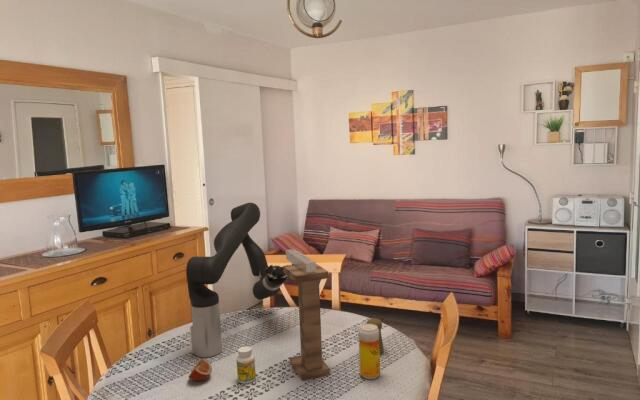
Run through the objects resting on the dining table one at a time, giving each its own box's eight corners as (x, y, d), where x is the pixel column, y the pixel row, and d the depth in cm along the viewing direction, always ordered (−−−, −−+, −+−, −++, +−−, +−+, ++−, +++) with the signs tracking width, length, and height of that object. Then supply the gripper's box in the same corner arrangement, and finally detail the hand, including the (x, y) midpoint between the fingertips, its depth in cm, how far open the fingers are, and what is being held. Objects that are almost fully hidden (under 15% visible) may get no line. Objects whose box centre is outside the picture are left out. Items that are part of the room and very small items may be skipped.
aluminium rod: (286, 259, 156) (285, 250, 155) (294, 257, 157) (294, 249, 156) (306, 273, 137) (306, 263, 137) (316, 272, 138) (315, 262, 138)
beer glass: (381, 379, 138) (380, 330, 137) (360, 380, 138) (359, 331, 137) (379, 369, 144) (377, 322, 143) (359, 370, 144) (357, 323, 143)
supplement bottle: (258, 376, 143) (257, 346, 142) (251, 385, 138) (249, 353, 137) (242, 374, 145) (240, 344, 144) (234, 383, 140) (232, 352, 139)
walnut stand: (287, 363, 151) (283, 265, 147) (317, 357, 154) (313, 261, 151) (300, 381, 139) (296, 276, 135) (332, 374, 142) (328, 271, 139)
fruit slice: (194, 372, 148) (193, 357, 147) (215, 372, 147) (214, 356, 147) (185, 385, 139) (184, 369, 139) (207, 385, 139) (206, 369, 138)
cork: (385, 355, 154) (384, 323, 153) (366, 355, 154) (365, 323, 153) (382, 347, 160) (382, 316, 159) (365, 347, 160) (364, 316, 159)
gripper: (254, 271, 177) (262, 258, 163) (290, 266, 182) (301, 253, 168) (257, 290, 175) (266, 279, 161) (294, 285, 180) (305, 273, 166)
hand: (283, 266), depth 165 cm, fingers open, 8 cm apart
